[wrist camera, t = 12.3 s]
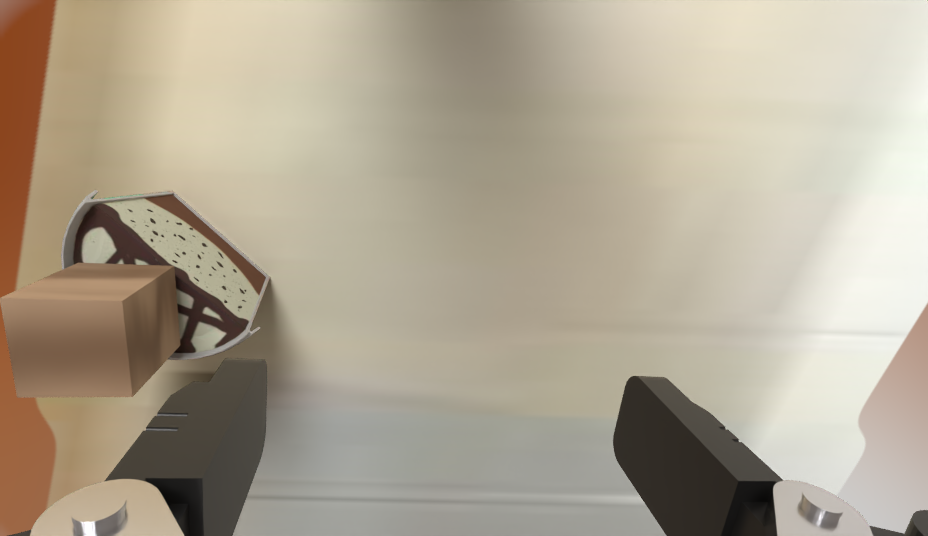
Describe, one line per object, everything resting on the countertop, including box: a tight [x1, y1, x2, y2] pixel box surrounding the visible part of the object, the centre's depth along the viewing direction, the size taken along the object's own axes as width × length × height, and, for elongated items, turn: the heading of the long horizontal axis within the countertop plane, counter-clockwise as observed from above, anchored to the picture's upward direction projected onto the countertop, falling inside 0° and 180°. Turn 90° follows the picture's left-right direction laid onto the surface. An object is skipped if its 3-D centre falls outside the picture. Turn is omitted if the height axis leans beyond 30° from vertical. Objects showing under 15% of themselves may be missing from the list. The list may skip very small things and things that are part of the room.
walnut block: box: [0, 263, 180, 397], centre depth 26 cm, size 5×5×6 cm
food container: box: [61, 190, 270, 360], centre depth 34 cm, size 12×6×10 cm, turn 41°
